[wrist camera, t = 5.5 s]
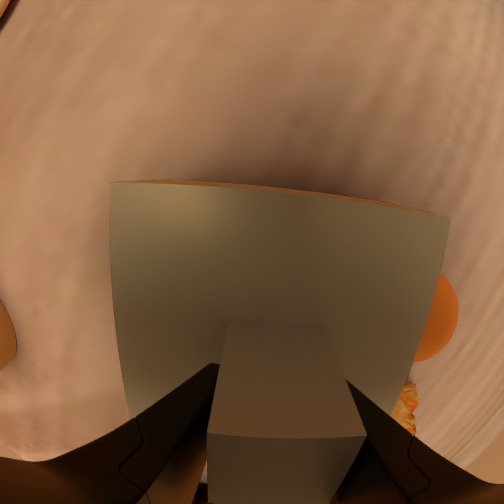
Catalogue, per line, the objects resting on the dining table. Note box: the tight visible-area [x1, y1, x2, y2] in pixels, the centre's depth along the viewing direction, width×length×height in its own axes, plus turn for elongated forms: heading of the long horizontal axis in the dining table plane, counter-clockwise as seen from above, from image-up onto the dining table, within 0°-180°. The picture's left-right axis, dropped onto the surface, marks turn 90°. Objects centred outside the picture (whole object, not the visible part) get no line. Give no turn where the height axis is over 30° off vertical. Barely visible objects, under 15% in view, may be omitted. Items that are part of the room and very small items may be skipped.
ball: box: [413, 274, 458, 362], centre depth 14 cm, size 5×5×5 cm
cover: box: [110, 180, 450, 504], centre depth 10 cm, size 10×10×10 cm
